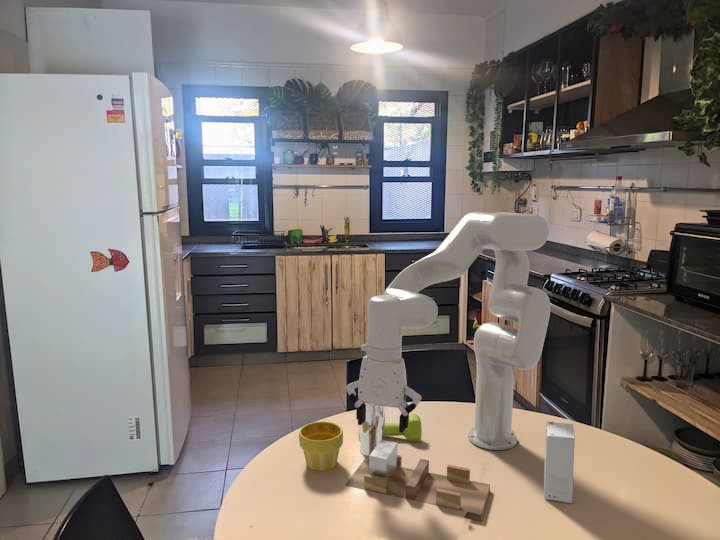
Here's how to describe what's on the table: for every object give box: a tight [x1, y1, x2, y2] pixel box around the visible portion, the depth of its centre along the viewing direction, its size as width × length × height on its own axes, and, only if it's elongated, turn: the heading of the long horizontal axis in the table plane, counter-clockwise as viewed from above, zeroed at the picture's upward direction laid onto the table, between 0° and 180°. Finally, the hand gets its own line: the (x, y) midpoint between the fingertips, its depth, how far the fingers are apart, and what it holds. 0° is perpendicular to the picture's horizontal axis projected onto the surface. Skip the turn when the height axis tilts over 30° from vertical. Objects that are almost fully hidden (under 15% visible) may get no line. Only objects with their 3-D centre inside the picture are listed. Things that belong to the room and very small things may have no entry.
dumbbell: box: [358, 413, 423, 443], centre depth 148 cm, size 16×8×7 cm, turn 89°
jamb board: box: [344, 454, 491, 522], centre depth 125 cm, size 12×30×4 cm, turn 69°
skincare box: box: [543, 421, 576, 505], centre depth 124 cm, size 8×6×15 cm
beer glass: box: [356, 403, 386, 457], centre depth 139 cm, size 7×7×15 cm
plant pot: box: [298, 420, 344, 471], centre depth 134 cm, size 10×10×10 cm
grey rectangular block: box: [368, 439, 399, 487], centre depth 127 cm, size 8×4×7 cm, turn 159°
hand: (382, 426), depth 125 cm, fingers open, 9 cm apart
